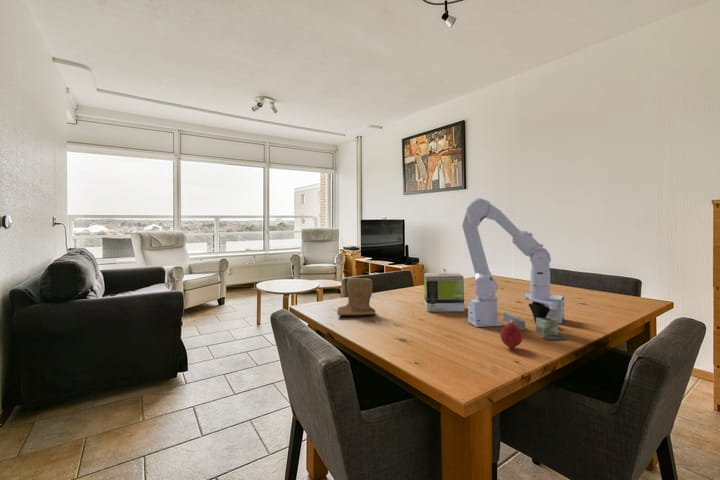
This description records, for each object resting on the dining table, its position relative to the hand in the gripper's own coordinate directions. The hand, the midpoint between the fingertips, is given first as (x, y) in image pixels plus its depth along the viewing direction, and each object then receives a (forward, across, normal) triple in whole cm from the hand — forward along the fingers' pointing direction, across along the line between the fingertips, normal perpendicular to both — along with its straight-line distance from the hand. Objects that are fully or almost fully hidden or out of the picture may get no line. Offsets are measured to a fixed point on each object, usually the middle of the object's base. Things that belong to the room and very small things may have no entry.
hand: (539, 325), depth 113 cm
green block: (+1, -4, 0) cm, 4 cm away
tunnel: (+1, +6, 0) cm, 6 cm away
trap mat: (+1, -9, +1) cm, 9 cm away
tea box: (+2, +31, +22) cm, 38 cm away
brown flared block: (+2, +28, +59) cm, 65 cm away
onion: (+2, -15, +18) cm, 23 cm away
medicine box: (+2, +9, -12) cm, 15 cm away
